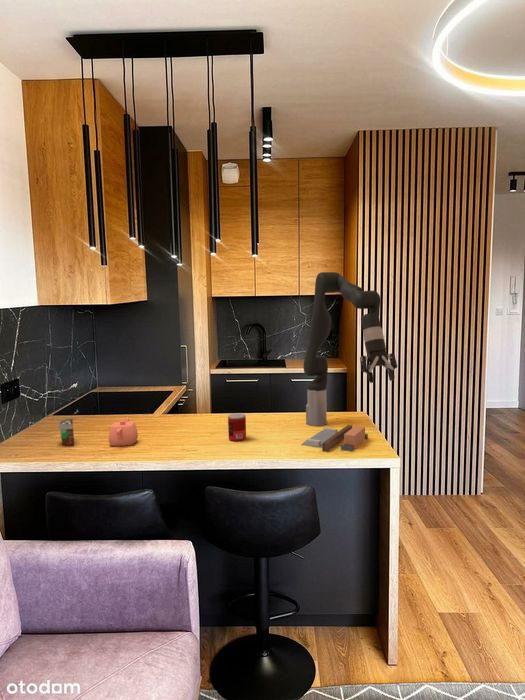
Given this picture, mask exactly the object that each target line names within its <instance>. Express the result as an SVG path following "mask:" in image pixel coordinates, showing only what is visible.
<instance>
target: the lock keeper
mask: <svg viewBox="0 0 525 700" xmlns="http://www.w3.org/2000/svg"><path fill="white" fill-rule="evenodd" d="M322 429H323V430H321V431H319V432H317V433H315V435H313V436H312V437H310V438H306V439H305V441H303V442H302V443H301V444H300V445H301V446H308V447H313V448H319V449H320V448H321V449H322V443H323V442H325V441H326V440H327V439H329V438H330V437H332V436H333V435H334V434H336V433H337V432H338V428H332V427H323V428H322Z"/></svg>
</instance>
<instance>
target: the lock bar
mask: <svg viewBox="0 0 525 700" xmlns="http://www.w3.org/2000/svg"><path fill="white" fill-rule="evenodd" d="M365 433H366V426H360V425H359V426H358V425H354V426H352V429H350V430H349V431H348V432H347V433H345V434H344V439H343V444H347V445H354V450H356V449H357V448H358V447H359V446H360V445H361V444H362V443H364V442H365V441H366V439H365Z"/></svg>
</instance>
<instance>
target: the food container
mask: <svg viewBox="0 0 525 700" xmlns="http://www.w3.org/2000/svg"><path fill="white" fill-rule="evenodd" d="M57 428H58V429H59V432H60V438H61V444H62V446H65V447H74V446H75V436H74V435H75V434H74V433H75V432H74V421H73V417H70V418H65V419H64V418H63V420H60V421H59V422H58V425H57Z"/></svg>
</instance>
